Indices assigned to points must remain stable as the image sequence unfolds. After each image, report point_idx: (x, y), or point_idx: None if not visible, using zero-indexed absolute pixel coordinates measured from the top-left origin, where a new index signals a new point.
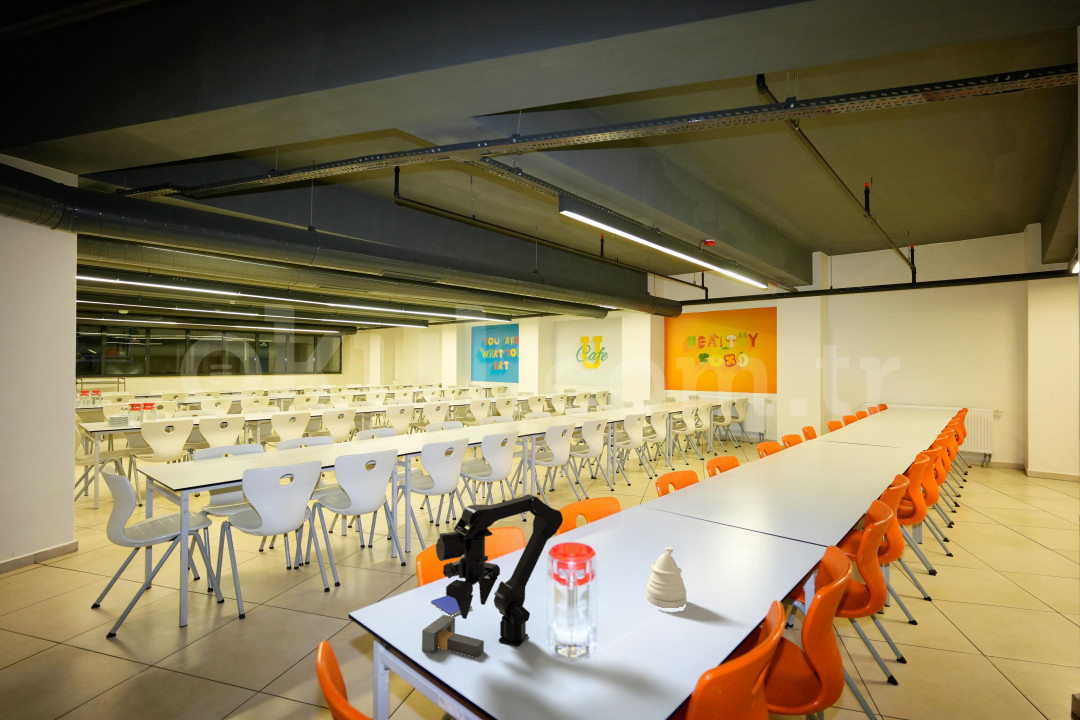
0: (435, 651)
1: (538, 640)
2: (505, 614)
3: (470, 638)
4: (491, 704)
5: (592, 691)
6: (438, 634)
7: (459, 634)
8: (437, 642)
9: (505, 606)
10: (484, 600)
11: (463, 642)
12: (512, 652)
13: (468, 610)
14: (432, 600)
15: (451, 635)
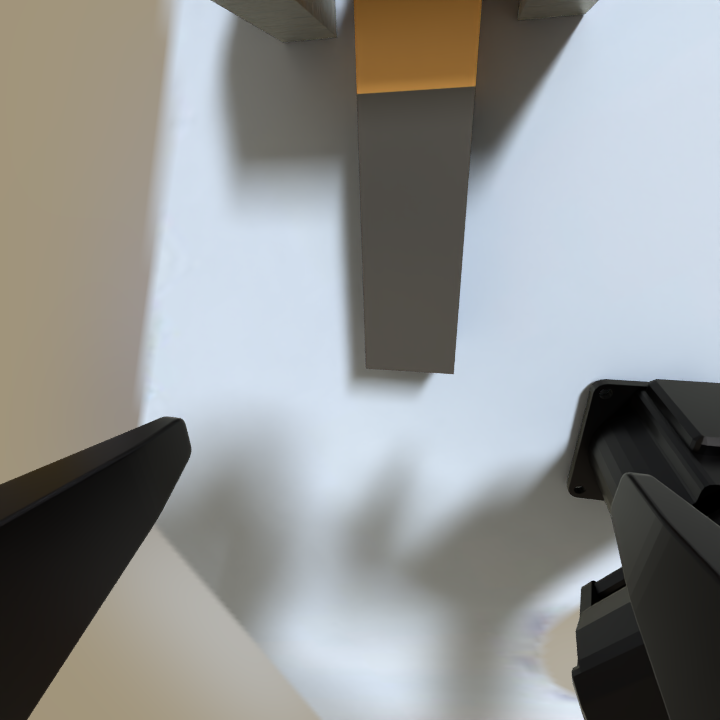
0: (296, 38)
1: None
2: (581, 620)
3: (444, 276)
4: None
5: (374, 696)
6: (291, 1)
7: (470, 151)
8: (302, 21)
9: (588, 717)
10: (633, 573)
11: (370, 259)
12: (502, 474)
13: (109, 568)
14: None
15: (425, 87)
